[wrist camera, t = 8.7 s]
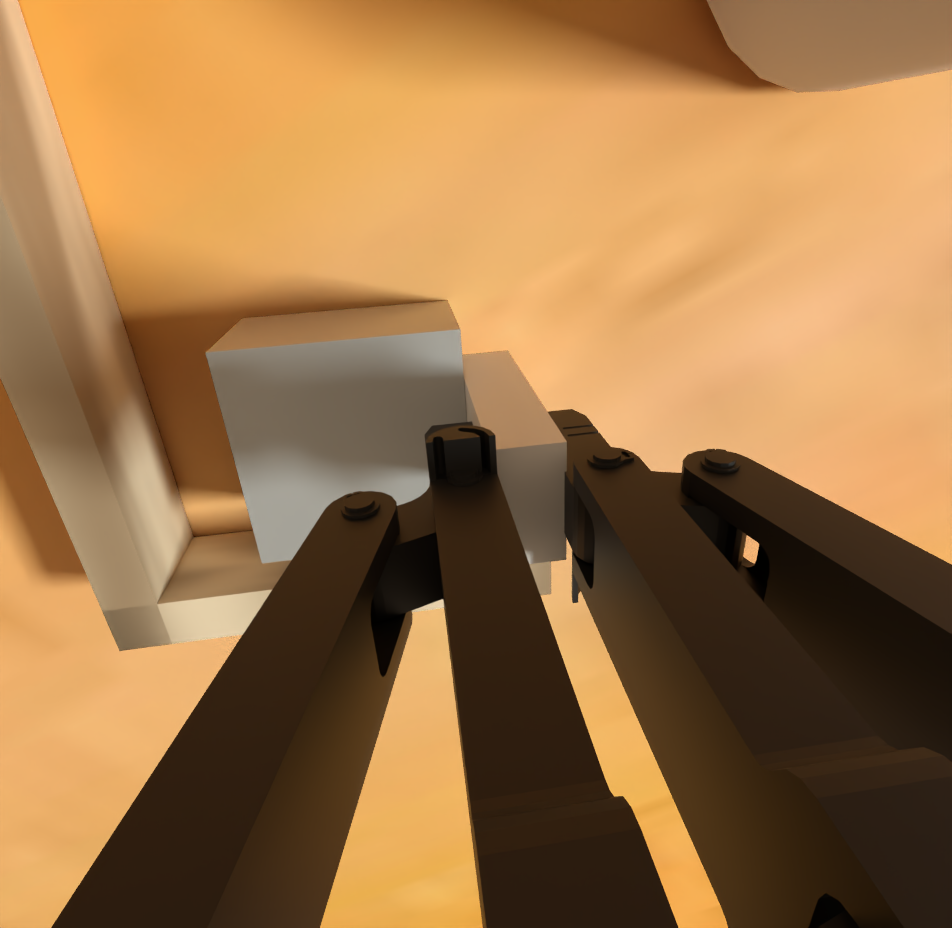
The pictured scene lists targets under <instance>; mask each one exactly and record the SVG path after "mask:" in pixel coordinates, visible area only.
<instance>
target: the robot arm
mask: <svg viewBox="0 0 952 928" xmlns="http://www.w3.org/2000/svg"><path fill="white" fill-rule="evenodd" d="M462 360H463V374H464V387H465V401H466V415H467V422H462V423H452V424H443V425H433V426H431V427H430V429H429V430H428V431H427V432H426V433H425V435H424V436H425V445H426V454H427V462H428V471H429V480H430V484H429V487H428V489H427V491H426V492H425V493H423V494H422V495H421V496H420V497H418V498H416V499H414V500H412V501H410V502H407V503H404V504H401V505H398V506H397V503H396V501H395V500H394V498H393V497H392V496H390V495H388V494H385V493H383V492H375V491H364V492H362V491H357V492H353V493H349V494H346V495H344V496H342V497H340V498H339V499H337V500H335V501H333V502H332V503H331V504H330V505H329V506H327V507H326V508H325V510H324V511H323V513H322V514H321V516H320V518H319V519H318V521H317V522H316V524H315V525H314V527H313V528H312V530H311V531H310V533H309V534H308V536H307V537H306V539H305V540H304V542H303V544H302V545H301V547H300V548H299V550H298V551H297V553H296V554H295V556H294V557H293V559H292V560H291V562H290V563H289V565H288V566H287V568H286V570H285V571H284V573H283V574H282V576H281V577H280V579H279V580H278V582H277V583H276V585H275V586H274V588H273V589H272V591H271V592H270V594H269V596H268V597H267V599H266V600H265V602H264V603H263V605H262V606H261V608H260V609H259V611H258V612H257V614H256V615H255V617H254V618H253V620H252V622H251V623H250V625H249V626H248V628H247V629H246V631H245V632H244V634H243V635H242V637H241V638H240V640H239V641H238V643H237V644H236V646H235V648H234V649H233V651H232V652H231V654H230V655H229V657H228V658H227V660H226V661H225V663H224V664H223V666H222V667H221V669H220V670H219V672H218V674H217V675H216V677H215V678H214V680H213V681H212V683H211V684H210V686H209V687H208V689H207V690H206V692H205V693H204V695H203V696H202V698H201V700H200V701H199V703H198V704H197V706H196V707H195V709H194V710H193V712H192V713H191V715H190V716H189V718H188V719H187V721H186V722H185V724H184V725H183V727H182V729H181V730H180V732H179V733H178V735H177V736H176V738H175V739H174V741H173V742H172V744H171V745H170V747H169V748H168V750H167V751H166V753H165V755H164V756H163V758H162V759H161V761H160V762H159V764H158V765H157V767H156V768H155V770H154V771H153V773H152V774H151V776H150V777H149V779H148V781H147V782H146V784H145V785H144V787H143V788H142V790H141V791H140V793H139V794H138V796H137V797H136V799H135V800H134V802H133V803H132V805H131V807H130V808H129V810H128V811H127V813H126V814H125V816H124V817H123V819H122V820H121V822H120V823H119V825H118V826H117V828H116V829H115V831H114V833H113V834H112V836H111V837H110V839H109V840H108V842H107V843H106V845H105V846H104V848H103V849H102V851H101V852H100V854H99V855H98V857H97V859H96V860H95V862H94V863H93V865H92V866H91V868H90V869H89V871H88V872H87V874H86V875H85V877H84V878H83V880H82V881H81V883H80V885H79V886H78V888H77V889H76V891H75V892H74V894H73V895H72V897H71V898H70V900H69V901H68V903H67V904H66V906H65V907H64V909H63V911H62V912H61V914H60V915H59V917H58V918H57V920H56V921H55V923H54V924H53V926H52V927H51V928H320V925H321V922H322V918H323V915H324V912H325V909H326V905H327V902H328V899H329V895H330V892H331V889H332V885H333V882H334V879H335V876H336V872H337V869H338V866H339V862H340V859H341V856H342V852H343V849H344V846H345V843H346V839H347V836H348V833H349V829H350V826H351V823H352V819H353V816H354V813H355V810H356V806H357V803H358V800H359V796H360V793H361V790H362V786H363V783H364V780H365V777H366V773H367V770H368V767H369V763H370V760H371V757H372V753H373V750H374V747H375V744H376V740H377V737H378V734H379V730H380V727H381V724H382V720H383V717H384V714H385V711H386V707H387V704H388V701H389V697H390V694H391V691H392V687H393V684H394V681H395V678H396V674H397V671H398V668H399V664H400V661H401V658H402V654H403V651H404V648H405V645H406V641H407V638H408V635H409V631H410V628H411V625H412V610H415V609H417V608H420V607H423V606H425V605H428V604H431V603H433V602H436V601H439V600H441V599H443V601H444V610H445V618H446V626H447V634H448V643H449V651H450V659H451V668H452V676H453V684H454V692H455V701H456V709H457V717H458V725H459V734H460V742H461V750H462V758H463V767H464V775H465V783H466V792H467V800H468V808H469V816H470V825H471V833H472V841H473V849H474V858H475V866H476V874H477V883H478V891H479V899H480V907H481V916H482V924H483V928H678V925H677V923H676V920H675V918H674V915H673V912H672V910H671V907H670V904H669V902H668V899H667V897H666V894H665V891H664V889H663V886H662V883H661V881H660V878H659V875H658V873H657V870H656V868H655V865H654V862H653V860H652V857H651V854H650V852H649V849H648V847H647V844H646V841H645V839H644V836H643V833H642V831H641V828H640V826H639V824H638V821H637V819H636V817H635V815H634V813H633V810H632V808H631V806H630V805H629V804H628V802H627V801H626V800H625V798H624V797H623V796H618V797H614V796H613V794H612V793H611V792H610V790H609V787H608V785H607V783H606V780H605V778H604V775H603V772H602V769H601V766H600V763H599V761H598V758H597V755H596V752H595V749H594V746H593V743H592V741H591V738H590V735H589V732H588V729H587V726H586V724H585V721H584V718H583V715H582V712H581V709H580V707H579V704H578V701H577V698H576V695H575V692H574V690H573V687H572V684H571V681H570V678H569V675H568V673H567V670H566V667H565V664H564V661H563V658H562V656H561V653H560V650H559V647H558V644H557V641H556V639H555V636H554V633H553V630H552V627H551V624H550V621H549V619H548V616H547V613H546V610H545V607H544V604H543V602H542V599H541V596H540V593H539V590H538V587H537V585H536V582H535V579H534V576H533V573H532V570H531V568H530V565H529V564H535V563H543V562H551V561H559V560H566V537H567V539H568V542H569V544H570V546H571V548H572V602H573V603H577V602H578V594H579V592H580V591H581V592H582V595H583V597H584V599H585V601H586V604H587V606H588V608H589V610H590V613H591V615H592V617H593V619H594V622H595V624H596V626H597V628H598V631H599V633H600V635H601V637H602V640H603V642H604V644H605V646H606V649H607V651H608V653H609V655H610V658H611V660H612V662H613V664H614V667H615V669H616V671H617V673H618V676H619V678H620V680H621V682H622V685H623V687H624V689H625V691H626V694H627V696H628V698H629V700H630V703H631V705H632V707H633V709H634V712H635V714H636V716H637V718H638V721H639V723H640V725H641V727H642V730H643V732H644V734H645V736H646V739H647V741H648V743H649V745H650V748H651V750H652V752H653V754H654V757H655V759H656V761H657V763H658V766H659V768H660V770H661V772H662V775H663V777H664V779H665V781H666V784H667V786H668V788H669V790H670V793H671V795H672V797H673V799H674V802H675V804H676V806H677V808H678V811H679V813H680V815H681V817H682V820H683V822H684V824H685V826H686V829H687V831H688V833H689V835H690V838H691V840H692V842H693V844H694V847H695V849H696V851H697V853H698V856H699V858H700V860H701V862H702V865H703V867H704V869H705V871H706V874H707V876H708V878H709V880H710V883H711V885H712V887H713V889H714V892H715V894H716V896H717V898H718V901H719V903H720V905H721V908H722V910H723V913H724V915H725V918H726V921H727V925H728V928H952V565H951V564H949V563H947V562H945V561H944V560H942V559H940V558H938V557H936V556H934V555H932V554H930V553H928V552H926V551H924V550H923V549H921V548H919V547H917V546H915V545H913V544H911V543H909V542H907V541H905V540H903V539H902V538H900V537H898V536H896V535H894V534H892V533H890V532H888V531H886V530H884V529H883V528H881V527H879V526H877V525H875V524H873V523H871V522H869V521H867V520H865V519H863V518H862V517H860V516H858V515H856V514H854V513H852V512H850V511H848V510H846V509H844V508H842V507H841V506H839V505H837V504H835V503H833V502H831V501H829V500H827V499H825V498H823V497H822V496H820V495H818V494H816V493H814V492H812V491H810V490H808V489H806V488H804V487H802V486H801V485H799V484H797V483H795V482H793V481H791V480H789V479H787V478H785V477H783V476H781V475H780V474H778V473H776V472H774V471H772V470H770V469H768V468H766V467H764V466H762V465H760V464H759V463H757V462H755V461H753V460H751V459H749V458H747V457H744V456H742V455H739V454H737V453H732V452H727V451H726V450H722V449H716V450H715V449H707V450H705V451H697V452H694V453H692V454H689V455H687V456H686V458H685V459H684V460H683V467H682V473H671V472H655V471H650V469H649V468H648V467H647V466H646V465H645V464H644V462H643V461H642V460H641V459H640V458H639V457H638V456H637V455H635V454H634V453H633V452H630V451H628V450H624V449H621V448H614V447H610V446H609V444H608V443H607V442H606V441H605V439H604V438H603V437H602V436H601V434H600V433H598V430H597V429H596V428H595V427H594V426H593V424H592V423H591V422H590V420H589V419H588V418H587V417H586V416H585V415H583V414H581V413H579V412H577V411H575V410H572V409H569V410H560V411H550V412H547V410H546V409H545V407H544V406H543V404H542V403H541V401H540V399H539V398H538V396H537V395H536V393H535V392H534V390H533V389H532V387H531V386H530V384H529V382H528V381H527V379H526V378H525V376H524V375H523V373H522V372H521V370H520V369H519V367H518V365H517V364H516V362H515V361H514V359H513V358H512V356H511V355H510V353H509V352H508V350H507V351H497V352H487V353H476V354H466V355H462ZM746 535H748V536H749V537H751V538H752V539H754V540H755V541H757V542H758V543H759V550H758V555H757V560H756V562H755V564H754V563H751V562H750V561H748V560H747V559H745V558H744V557H743V553H744V547H745V541H746Z"/></svg>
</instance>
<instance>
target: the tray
mask: <svg viewBox="0 0 952 928" xmlns="http://www.w3.org/2000/svg"><path fill="white" fill-rule="evenodd" d="M0 379H1V381H2V383H3V385H4V388H5V390H6V392H7V395H8V397H9V399H10V401H11V404H12V406H13V408H14V411H15V413H16V415H17V417H18V420H19V422H20V424H21V427H22V429H23V431H24V433H25V436H26V438H27V440H28V442H29V445H30V447H31V449H32V452H33V454H34V456H35V458H36V461H37V463H38V465H39V468H40V470H41V472H42V474H43V477H44V479H45V481H46V484H47V486H48V488H49V490H50V493H51V495H52V497H53V500H54V502H55V504H56V506H57V509H58V511H59V513H60V516H61V518H62V520H63V522H64V525H65V527H66V529H67V532H68V534H69V536H70V538H71V541H72V543H73V545H74V548H75V550H76V552H77V554H78V557H79V559H80V561H81V564H82V566H83V568H84V570H85V573H86V575H87V577H88V580H89V582H90V584H91V586H92V589H93V591H94V593H95V596H96V598H97V600H98V602H99V605H100V607H101V609H102V612H103V614H104V616H105V618H106V621H107V623H108V625H109V628H110V630H111V632H112V634H113V637H114V639H115V641H116V644H117V646H118V648H119V650H120V651H123V650H130V649H138V648H145V647H153V646H160V645H168V644H175V643H183V642H191V641H198V640H206V639H213V638H221V637H228V636H236V635H243V634H244V632H245V631H246V629H247V628H248V626H249V625H250V623H251V622H252V620H253V618H254V617H255V615H256V614H257V612H258V611H259V609H260V608H261V606H262V605H263V603H264V602H265V600H266V599H267V597H268V596H269V594H270V592H271V591H272V589H273V588H274V586H275V585H276V583H277V582H278V580H279V579H280V577H281V576H282V574H283V573H284V571H285V570H286V568H287V566H288V565H289V563H290V562H291V560H287V561H279V562H271V563H262V562H261V558H260V554H259V551H258V547H257V543H256V539H255V536H254V532H253V530H252V531H244V532H235V533H227V534H218V535H210V536H201V537H193V534H192V531H191V528H190V525H189V522H188V519H187V516H186V513H185V509H184V506H183V503H182V500H181V497H180V494H179V491H178V488H177V485H176V482H175V479H174V476H173V473H172V470H171V467H170V464H169V461H168V458H167V455H166V451H165V448H164V445H163V442H162V439H161V436H160V433H159V430H158V427H157V424H156V421H155V418H154V415H153V412H152V409H151V406H150V403H149V400H148V396H147V393H146V390H145V387H144V384H143V381H142V378H141V375H140V372H139V369H138V366H137V363H136V360H135V357H134V354H133V351H132V348H131V345H130V342H129V338H128V335H127V332H126V329H125V326H124V323H123V320H122V317H121V314H120V311H119V308H118V305H117V302H116V299H115V296H114V293H113V290H112V287H111V284H110V280H109V277H108V274H107V271H106V268H105V265H104V262H103V259H102V256H101V253H100V250H99V247H98V244H97V241H96V238H95V235H94V232H93V229H92V225H91V222H90V219H89V216H88V213H87V210H86V207H85V204H84V201H83V198H82V195H81V192H80V189H79V186H78V183H77V180H76V177H75V174H74V171H73V167H72V164H71V161H70V158H69V155H68V152H67V149H66V146H65V143H64V140H63V137H62V134H61V131H60V128H59V125H58V122H57V119H56V116H55V113H54V109H53V106H52V103H51V100H50V97H49V94H48V91H47V88H46V85H45V82H44V79H43V76H42V73H41V70H40V67H39V64H38V61H37V58H36V55H35V51H34V48H33V45H32V42H31V39H30V36H29V33H28V30H27V27H26V24H25V21H24V18H23V15H22V12H21V9H20V6H19V3H18V0H0ZM529 565H530V568H531V570H532V573H533V576H534V579H535V582H536V585H537V587H538V590H539V593H540V595H546V594H551V562H543V563H535V564H529ZM440 608H444V601H443V599H441V600H439V601H436V602H433V603H431V604H428V605H425V606H423V607H420V608H417V609H415V610H412V612H418V611H425V610H433V609H440Z"/></svg>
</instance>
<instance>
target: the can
mask: <svg viewBox="0 0 952 928" xmlns="http://www.w3.org/2000/svg"><path fill="white" fill-rule="evenodd" d="M707 2H708V5H709V7H710V9H711V11H712V13H713V15H714V17H715V20H716V22H717V24H718V26H719V28H720V30H721V32H722V35H723V37H724V39H725V41H726V43H727V45H728V47H729V48H730V49H731V50H732V51H733V52H734V53H735V54H736V55H737V56H738V57H739V58H740V59H741V60H742V61H743V62H744V63H745V64H746V65H747V66H748V67H749V68H750V69H751V70H752V71H753V72H754V73H755V74H756V75H757V76H758V77H759V78H761V79H764V80H766V81H769V82H771V83H774V84H777V85H779V86H782V87H784V88H787V89H790V90H792V91H795V92H821V91H840V90H845V89H851V88H856V87H861V86H867V85H872V84H877V83H883V82H888V81H894V80H899V79H904V78H910V77H915V76H920V75H926V74H931V73H936V72H942V71H947V70H952V0H707Z"/></svg>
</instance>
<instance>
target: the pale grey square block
mask: <svg viewBox="0 0 952 928" xmlns="http://www.w3.org/2000/svg"><path fill="white" fill-rule="evenodd" d="M205 353H206V357H207V361H208V364H209V368H210V372H211V376H212V379H213V383H214V387H215V390H216V394H217V398H218V402H219V405H220V409H221V413H222V417H223V420H224V424H225V428H226V431H227V435H228V439H229V443H230V446H231V450H232V454H233V458H234V461H235V465H236V469H237V472H238V476H239V480H240V484H241V487H242V491H243V495H244V498H245V502H246V506H247V510H248V513H249V517H250V521H251V525H252V528H253V532H254V536H255V539H256V543H257V547H258V551H259V554H260V558H261V562H262V563H271V562H279V561H287V560H292V559H293V557H294V556H295V554H296V553H297V551H298V550H299V548H300V547H301V545H302V544H303V542H304V540H305V539H306V537H307V536H308V534H309V533H310V531H311V530H312V528H313V527H314V525H315V524H316V522H317V521H318V519H319V518H320V516H321V514H322V513H323V511H324V510H325V508H326V507H327V506H329V505H330V504H331V503H332V502H333V501H335V500H337V499H339V498H340V497H342V496H344V495H346V494H349V493H353V492H357V491H362V492H364V491H375V492H383V493H385V494H388V495H390V496H392V497H393V498H394V500H395V501H396V503H397V506H398V505H401V504H404V503H407V502H410V501H412V500H414V499H416V498H418V497H420V496H421V495H422V494H423V493H425V492H426V491H427V489H428V487H429V484H430V480H429V471H428V462H427V454H426V445H425V436H424V435H425V433H426V432H427V431H428V430H429V429H430V427H431V426H433V425H443V424H452V423H462V422H467V415H466V401H465V387H464V374H463V360H462V347H461V333H460V328H459V325H458V323H457V321H456V319H455V316H454V314H453V312H452V309H451V307H450V305H449V303H448V300H444V301H433V302H421V303H410V304H399V305H387V306H376V307H364V308H353V309H341V310H330V311H318V312H307V313H295V314H284V315H272V316H261V317H249V318H242V319H241V320H240V321H239V322H238V323H236V324H235V325H234V326H233V327H232V328H231V329H230V330H229V331H228V332H227V333H226V334H225V335H224V336H223V337H221V338H220V339H219V340H218V341H217V342H216V343H215V344H214V345H213V346H212V347H211V348H210V349H209V350H208V351H206V352H205Z"/></svg>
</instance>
